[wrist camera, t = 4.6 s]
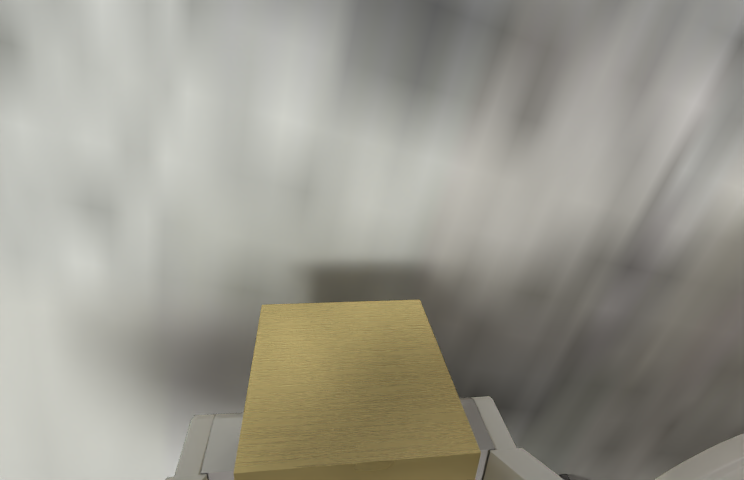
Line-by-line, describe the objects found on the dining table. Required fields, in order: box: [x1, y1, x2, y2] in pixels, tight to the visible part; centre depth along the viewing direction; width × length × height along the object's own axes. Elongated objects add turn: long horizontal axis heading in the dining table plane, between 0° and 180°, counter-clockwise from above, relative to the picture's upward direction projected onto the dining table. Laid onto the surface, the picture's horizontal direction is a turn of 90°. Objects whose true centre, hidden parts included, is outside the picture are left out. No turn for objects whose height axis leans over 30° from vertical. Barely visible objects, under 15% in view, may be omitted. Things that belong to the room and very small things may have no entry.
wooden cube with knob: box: [234, 300, 481, 480], centre depth 11 cm, size 4×4×5 cm
